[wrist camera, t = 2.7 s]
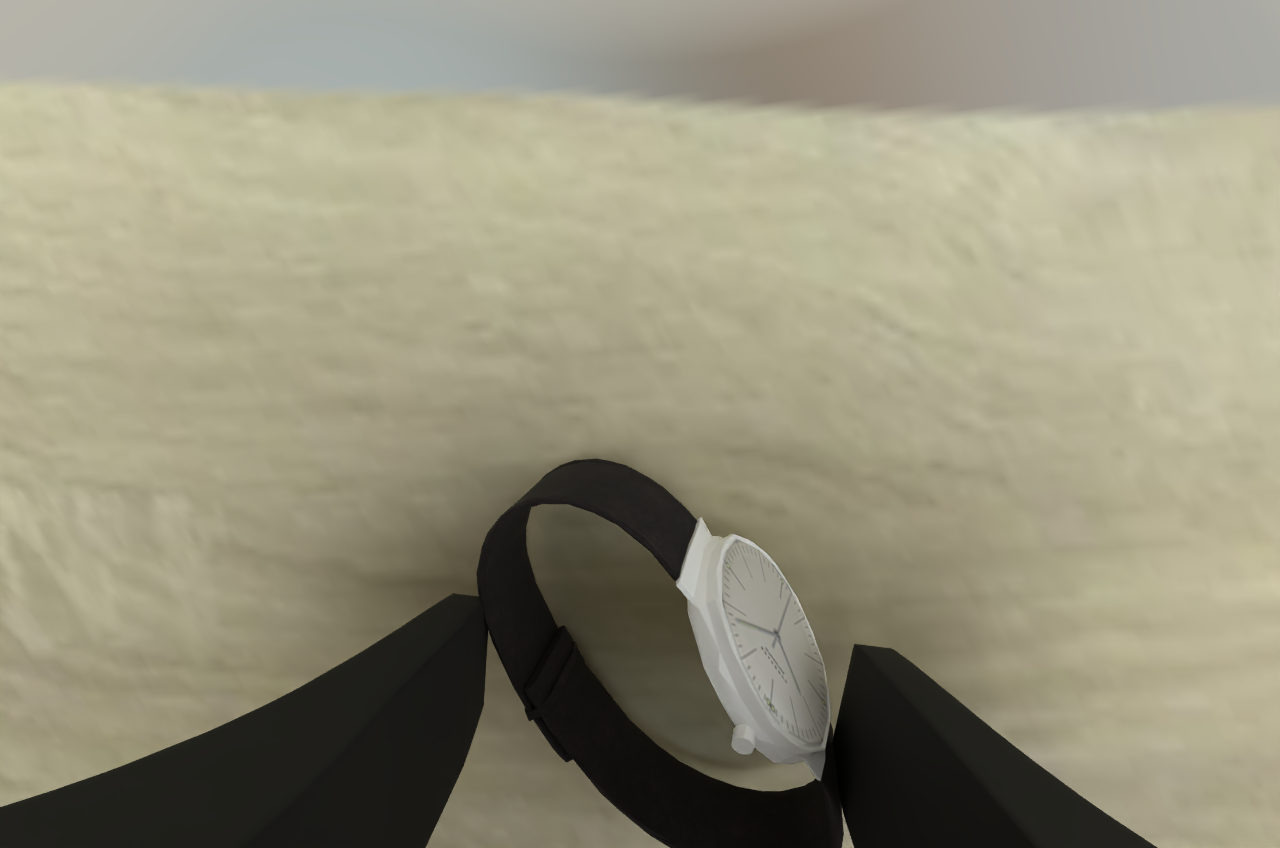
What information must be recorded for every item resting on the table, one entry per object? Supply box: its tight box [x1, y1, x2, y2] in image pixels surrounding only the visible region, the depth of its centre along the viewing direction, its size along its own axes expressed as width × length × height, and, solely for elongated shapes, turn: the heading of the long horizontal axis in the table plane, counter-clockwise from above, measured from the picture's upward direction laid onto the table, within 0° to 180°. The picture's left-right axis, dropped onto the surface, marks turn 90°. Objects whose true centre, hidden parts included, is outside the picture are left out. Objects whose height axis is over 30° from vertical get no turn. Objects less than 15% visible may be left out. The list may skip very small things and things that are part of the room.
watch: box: [477, 459, 844, 848], centre depth 10 cm, size 8×5×4 cm, turn 34°
